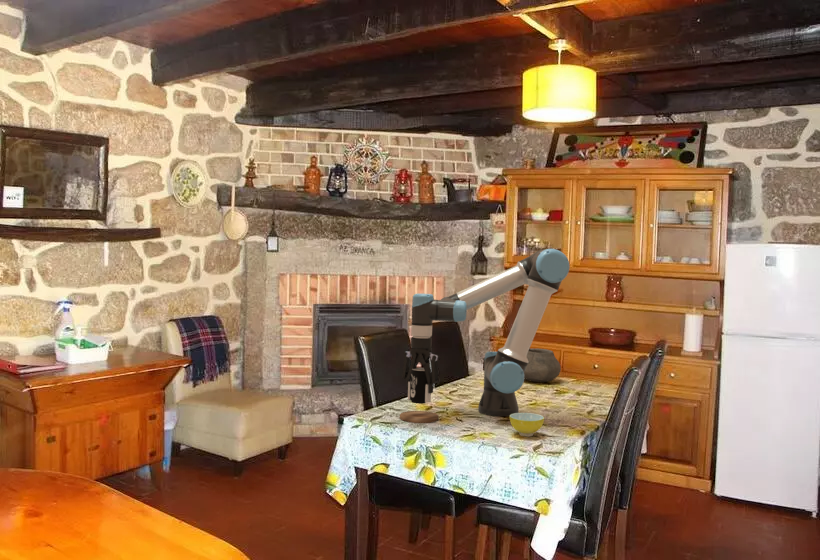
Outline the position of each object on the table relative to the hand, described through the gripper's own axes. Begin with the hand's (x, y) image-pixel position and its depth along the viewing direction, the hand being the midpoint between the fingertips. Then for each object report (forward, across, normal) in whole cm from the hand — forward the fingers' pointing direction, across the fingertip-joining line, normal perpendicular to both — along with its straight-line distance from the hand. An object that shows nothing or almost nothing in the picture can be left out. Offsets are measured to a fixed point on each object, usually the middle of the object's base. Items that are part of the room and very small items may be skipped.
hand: (419, 400), depth 253 cm
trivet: (+6, 0, 0) cm, 6 cm away
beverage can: (+1, 0, 0) cm, 1 cm away
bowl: (+6, -40, -3) cm, 41 cm away
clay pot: (+6, -4, -100) cm, 100 cm away
